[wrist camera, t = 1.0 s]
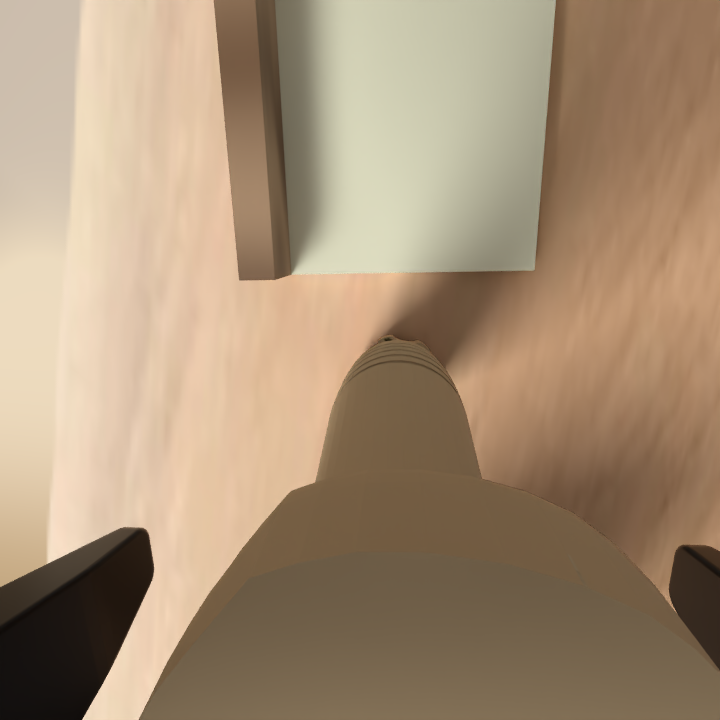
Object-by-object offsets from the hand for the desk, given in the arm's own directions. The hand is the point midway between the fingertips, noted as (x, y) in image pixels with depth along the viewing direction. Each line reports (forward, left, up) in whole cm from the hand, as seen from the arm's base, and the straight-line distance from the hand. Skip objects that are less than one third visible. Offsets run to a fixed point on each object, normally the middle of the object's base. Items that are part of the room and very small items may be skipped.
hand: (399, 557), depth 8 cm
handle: (0, 0, -11) cm, 11 cm away
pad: (+10, 0, -11) cm, 15 cm away
